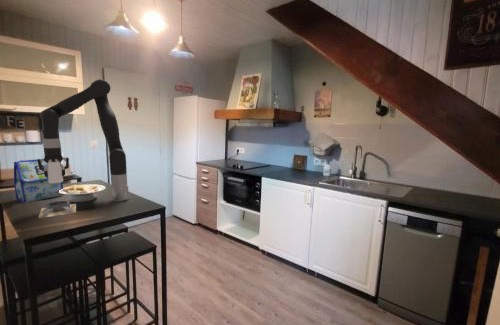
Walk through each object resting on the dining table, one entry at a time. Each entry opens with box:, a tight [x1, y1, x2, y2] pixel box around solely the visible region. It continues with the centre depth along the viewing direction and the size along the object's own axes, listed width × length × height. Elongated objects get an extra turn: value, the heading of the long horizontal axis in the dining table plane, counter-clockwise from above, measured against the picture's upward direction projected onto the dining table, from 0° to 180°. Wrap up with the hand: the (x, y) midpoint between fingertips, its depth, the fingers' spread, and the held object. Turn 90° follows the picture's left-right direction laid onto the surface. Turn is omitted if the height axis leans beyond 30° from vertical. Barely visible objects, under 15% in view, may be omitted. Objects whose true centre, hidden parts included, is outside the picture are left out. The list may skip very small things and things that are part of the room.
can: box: [47, 161, 64, 184], centre depth 141 cm, size 6×6×12 cm
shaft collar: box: [42, 200, 72, 216], centre depth 141 cm, size 12×17×3 cm
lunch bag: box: [13, 158, 64, 204], centre depth 165 cm, size 22×17×26 cm
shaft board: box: [37, 203, 77, 219], centre depth 141 cm, size 16×18×2 cm
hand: (55, 176), depth 141 cm, fingers closed on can, 6 cm apart
